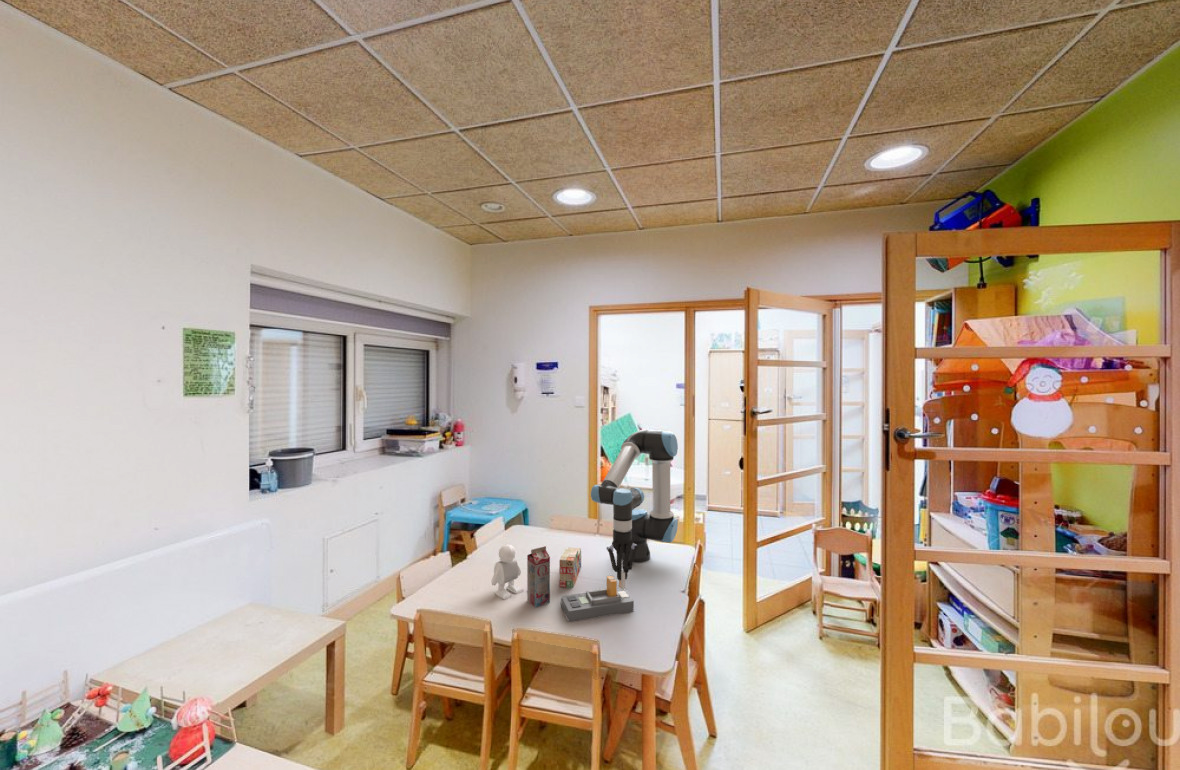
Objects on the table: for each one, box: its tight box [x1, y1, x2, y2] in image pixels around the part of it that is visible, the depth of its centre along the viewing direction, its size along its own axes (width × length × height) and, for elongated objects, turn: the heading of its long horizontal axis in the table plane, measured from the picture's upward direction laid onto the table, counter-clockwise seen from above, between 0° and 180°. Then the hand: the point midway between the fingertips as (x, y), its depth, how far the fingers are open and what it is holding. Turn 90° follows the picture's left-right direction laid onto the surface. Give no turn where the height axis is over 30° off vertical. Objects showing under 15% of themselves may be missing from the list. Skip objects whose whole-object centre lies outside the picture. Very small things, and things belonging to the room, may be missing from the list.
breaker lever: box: [606, 575, 618, 597], centre depth 180 cm, size 2×5×7 cm, turn 17°
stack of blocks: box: [558, 547, 582, 589], centre depth 206 cm, size 21×6×12 cm, turn 172°
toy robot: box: [491, 543, 524, 600], centre depth 192 cm, size 14×9×20 cm, turn 137°
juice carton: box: [526, 545, 551, 608], centre depth 184 cm, size 7×7×22 cm
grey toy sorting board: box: [560, 587, 635, 623], centre depth 179 cm, size 26×12×6 cm, turn 107°
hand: (622, 587), depth 182 cm, fingers closed
